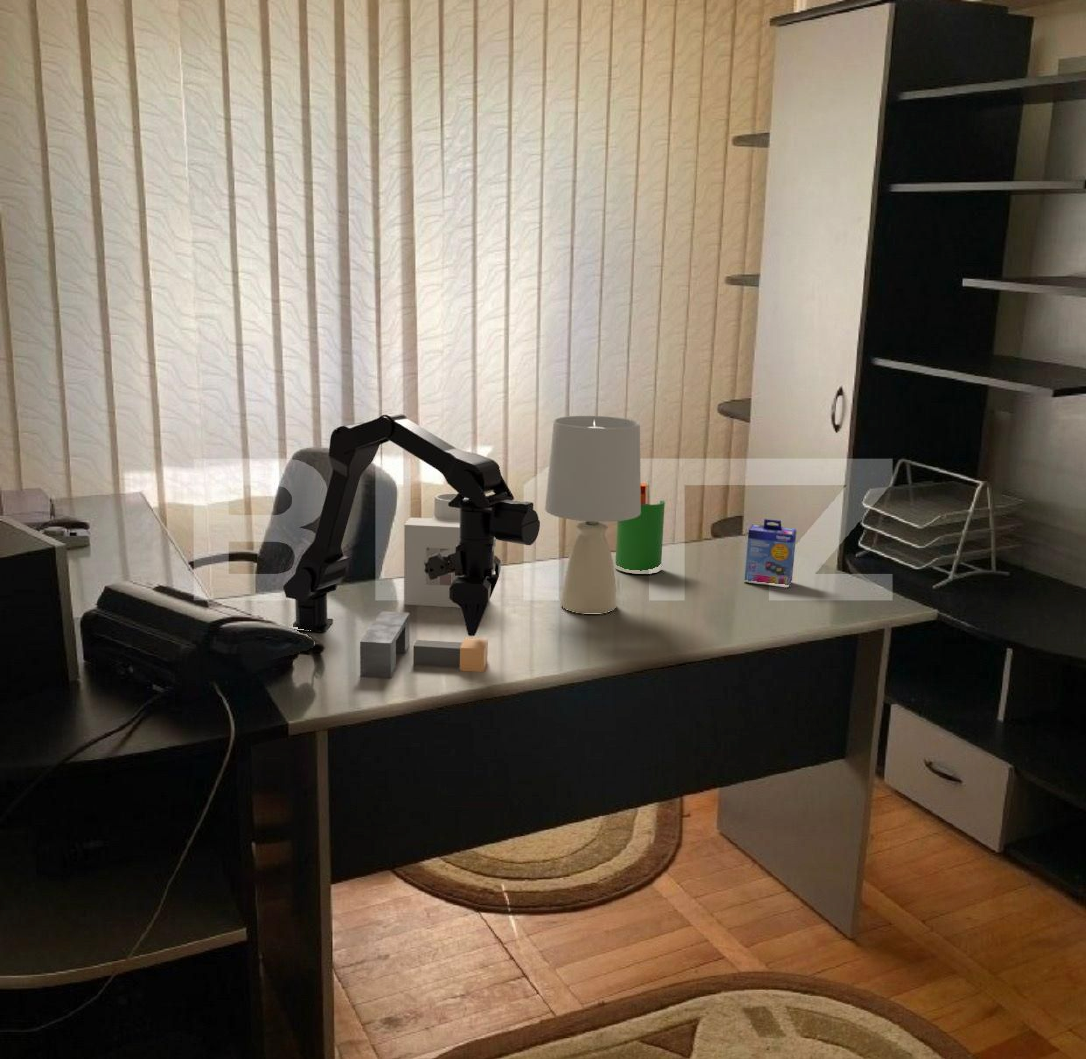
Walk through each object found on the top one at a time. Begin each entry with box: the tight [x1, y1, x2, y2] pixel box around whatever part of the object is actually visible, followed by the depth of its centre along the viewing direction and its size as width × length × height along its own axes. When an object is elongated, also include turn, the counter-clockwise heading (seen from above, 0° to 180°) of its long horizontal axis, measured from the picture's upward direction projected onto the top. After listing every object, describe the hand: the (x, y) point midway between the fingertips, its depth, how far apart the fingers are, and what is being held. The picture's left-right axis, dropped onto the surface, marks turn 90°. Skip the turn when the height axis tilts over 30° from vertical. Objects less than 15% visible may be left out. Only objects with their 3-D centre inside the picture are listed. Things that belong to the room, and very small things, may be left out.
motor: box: [615, 483, 666, 571], centre depth 248 cm, size 10×9×20 cm
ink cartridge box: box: [743, 518, 797, 586], centre depth 242 cm, size 10×6×14 cm, turn 72°
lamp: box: [544, 415, 641, 613], centre depth 219 cm, size 19×19×37 cm
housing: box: [359, 610, 411, 679], centre depth 190 cm, size 16×5×6 cm, turn 176°
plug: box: [412, 637, 489, 673], centre depth 189 cm, size 5×12×4 cm, turn 86°
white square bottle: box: [403, 492, 490, 609], centre depth 227 cm, size 16×19×20 cm
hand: (475, 626), depth 188 cm, fingers open, 9 cm apart
